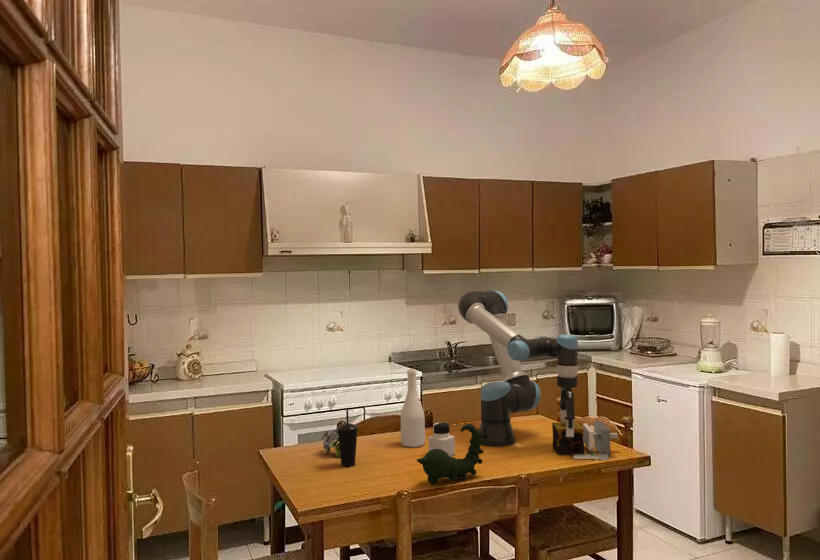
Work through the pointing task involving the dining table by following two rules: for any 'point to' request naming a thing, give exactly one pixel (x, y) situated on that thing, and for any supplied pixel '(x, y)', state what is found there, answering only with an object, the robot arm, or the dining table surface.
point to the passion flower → (331, 442)
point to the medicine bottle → (442, 439)
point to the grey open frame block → (599, 443)
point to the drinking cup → (347, 442)
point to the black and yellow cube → (567, 439)
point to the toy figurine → (453, 460)
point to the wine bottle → (412, 415)
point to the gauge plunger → (590, 435)
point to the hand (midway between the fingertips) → (566, 431)
